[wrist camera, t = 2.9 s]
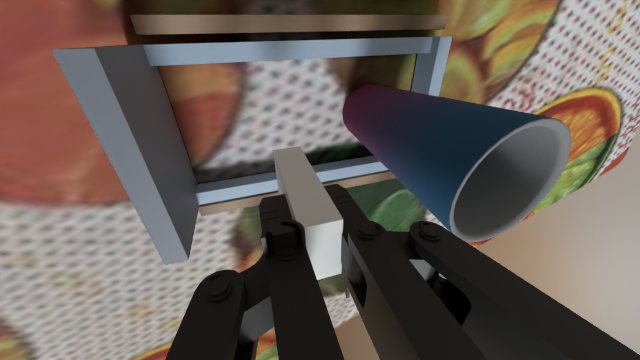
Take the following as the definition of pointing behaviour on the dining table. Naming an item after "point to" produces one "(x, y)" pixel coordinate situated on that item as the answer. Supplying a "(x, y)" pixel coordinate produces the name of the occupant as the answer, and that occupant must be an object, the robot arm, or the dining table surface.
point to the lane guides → (274, 25)
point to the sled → (163, 133)
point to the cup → (461, 155)
